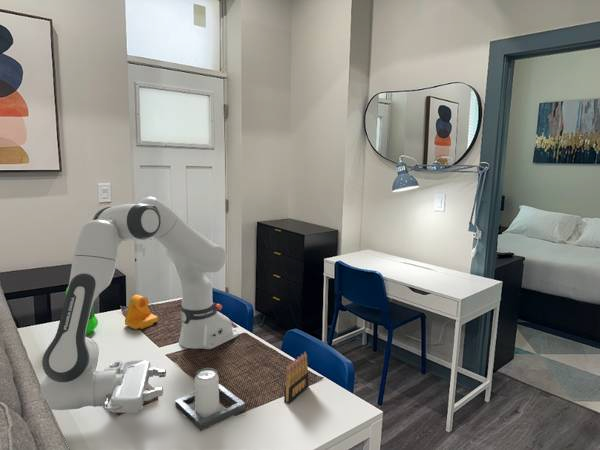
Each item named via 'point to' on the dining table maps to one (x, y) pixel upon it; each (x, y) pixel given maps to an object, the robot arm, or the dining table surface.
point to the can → (206, 392)
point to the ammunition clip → (296, 378)
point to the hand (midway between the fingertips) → (164, 381)
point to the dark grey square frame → (215, 418)
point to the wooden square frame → (144, 401)
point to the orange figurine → (139, 313)
